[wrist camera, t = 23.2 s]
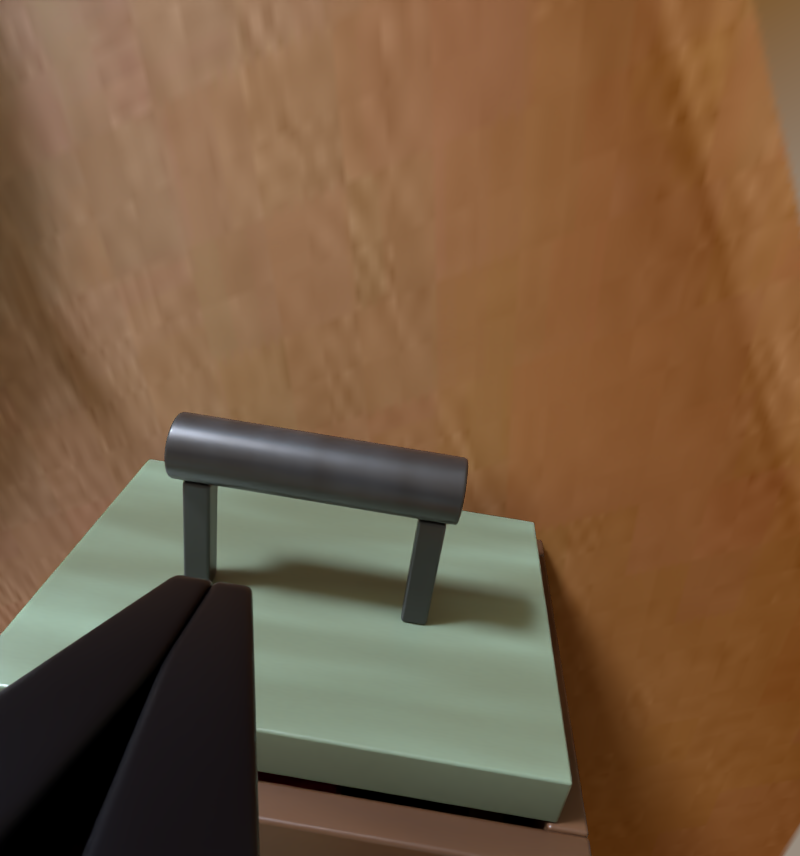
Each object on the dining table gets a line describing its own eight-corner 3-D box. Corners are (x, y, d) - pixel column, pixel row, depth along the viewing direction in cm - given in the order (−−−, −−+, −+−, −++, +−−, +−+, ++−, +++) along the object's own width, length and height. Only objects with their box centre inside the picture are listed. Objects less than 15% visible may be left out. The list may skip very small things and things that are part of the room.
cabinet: (143, 474, 21) (-94, 759, 12) (542, 539, 21) (597, 879, 12) (157, 773, 28) (10, 1099, 19) (460, 826, 28) (456, 1181, 19)
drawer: (143, 322, 18) (-83, 488, 11) (571, 390, 18) (643, 609, 10) (161, 759, 26) (40, 1025, 19) (454, 810, 26) (449, 1098, 19)
